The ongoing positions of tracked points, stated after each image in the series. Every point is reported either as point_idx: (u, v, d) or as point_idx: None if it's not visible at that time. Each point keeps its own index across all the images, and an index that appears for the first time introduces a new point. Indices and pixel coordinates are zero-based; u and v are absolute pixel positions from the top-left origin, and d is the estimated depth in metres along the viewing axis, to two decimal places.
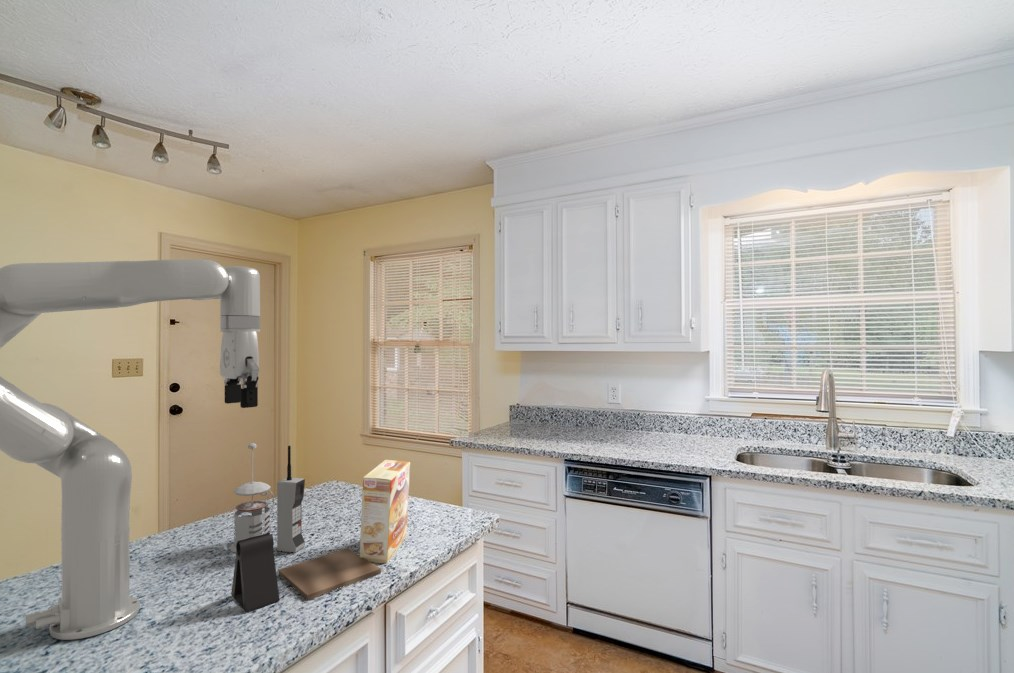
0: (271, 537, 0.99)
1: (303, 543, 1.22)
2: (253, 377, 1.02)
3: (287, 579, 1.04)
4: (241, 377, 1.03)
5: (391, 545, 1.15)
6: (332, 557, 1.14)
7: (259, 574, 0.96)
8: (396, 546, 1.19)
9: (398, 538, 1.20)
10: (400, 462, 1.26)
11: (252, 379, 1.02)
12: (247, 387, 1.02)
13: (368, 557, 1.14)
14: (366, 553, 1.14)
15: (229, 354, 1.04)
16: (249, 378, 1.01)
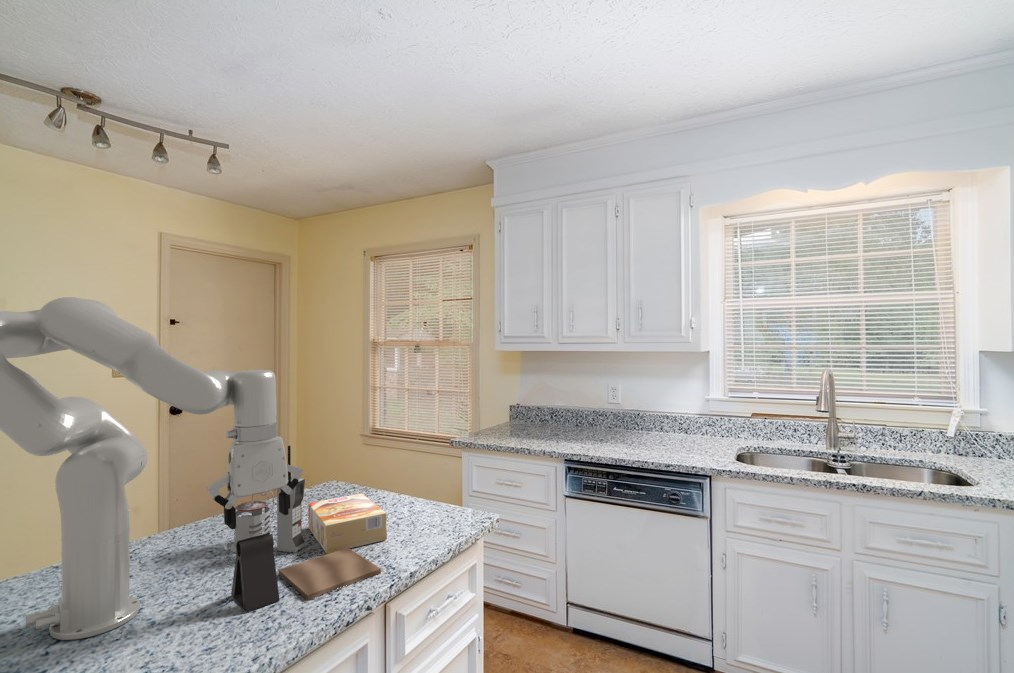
0: (271, 537, 0.99)
1: (303, 543, 1.22)
2: None
3: (287, 579, 1.04)
4: None
5: (330, 519, 1.22)
6: (332, 557, 1.14)
7: (259, 574, 0.96)
8: (349, 518, 1.22)
9: (352, 515, 1.24)
10: None
11: None
12: None
13: (324, 542, 1.19)
14: (323, 543, 1.19)
15: (272, 465, 0.98)
16: (297, 481, 1.03)
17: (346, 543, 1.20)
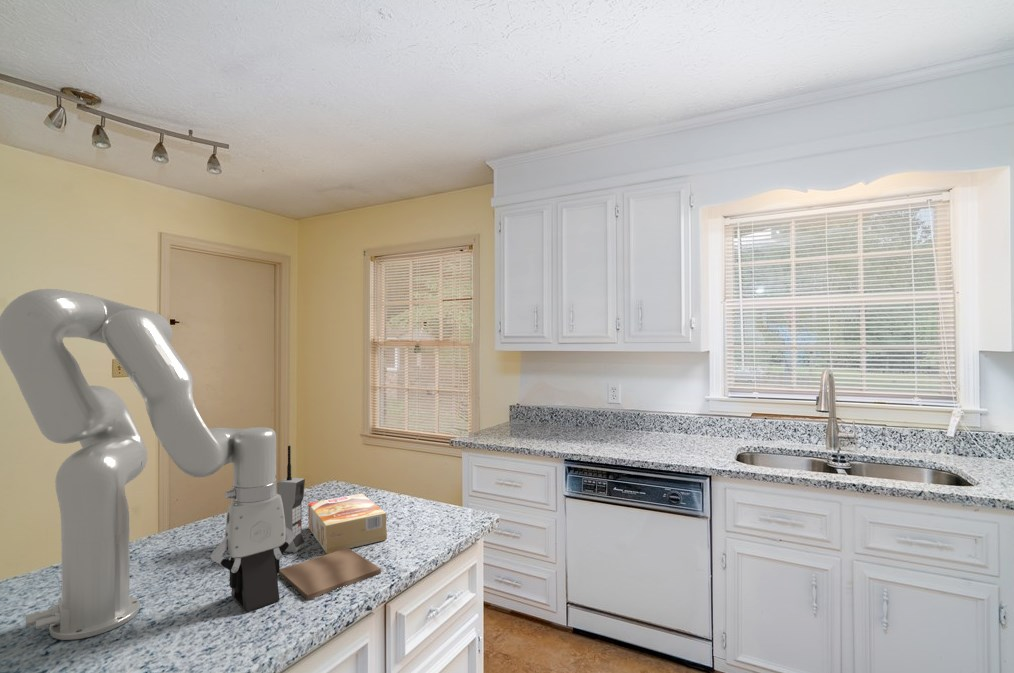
0: None
1: (303, 543, 1.22)
2: None
3: (287, 579, 1.04)
4: (276, 547, 1.00)
5: (330, 519, 1.22)
6: (332, 557, 1.14)
7: (259, 573, 0.96)
8: (349, 518, 1.22)
9: (352, 515, 1.24)
10: None
11: None
12: None
13: (324, 542, 1.19)
14: (323, 543, 1.19)
15: (270, 524, 0.98)
16: (287, 545, 1.02)
17: (346, 543, 1.20)
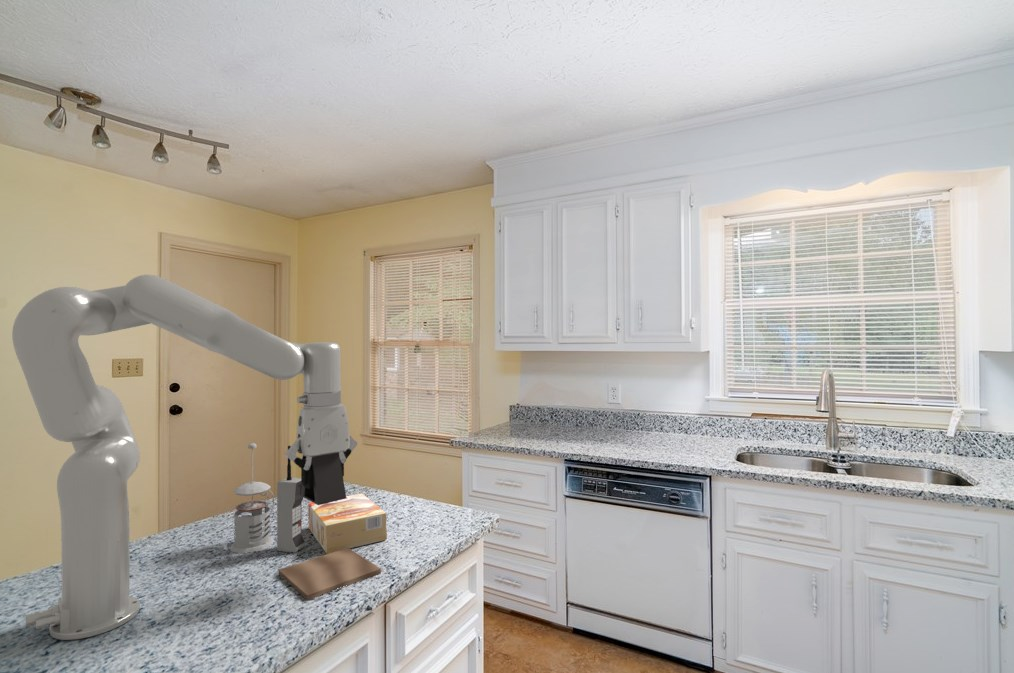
0: None
1: (303, 543, 1.22)
2: None
3: (287, 579, 1.04)
4: (341, 452, 1.09)
5: (330, 519, 1.22)
6: (332, 557, 1.14)
7: (328, 473, 1.05)
8: (349, 518, 1.22)
9: (352, 515, 1.24)
10: None
11: None
12: None
13: (324, 542, 1.19)
14: (323, 543, 1.19)
15: (337, 429, 1.07)
16: (350, 451, 1.11)
17: (346, 543, 1.20)
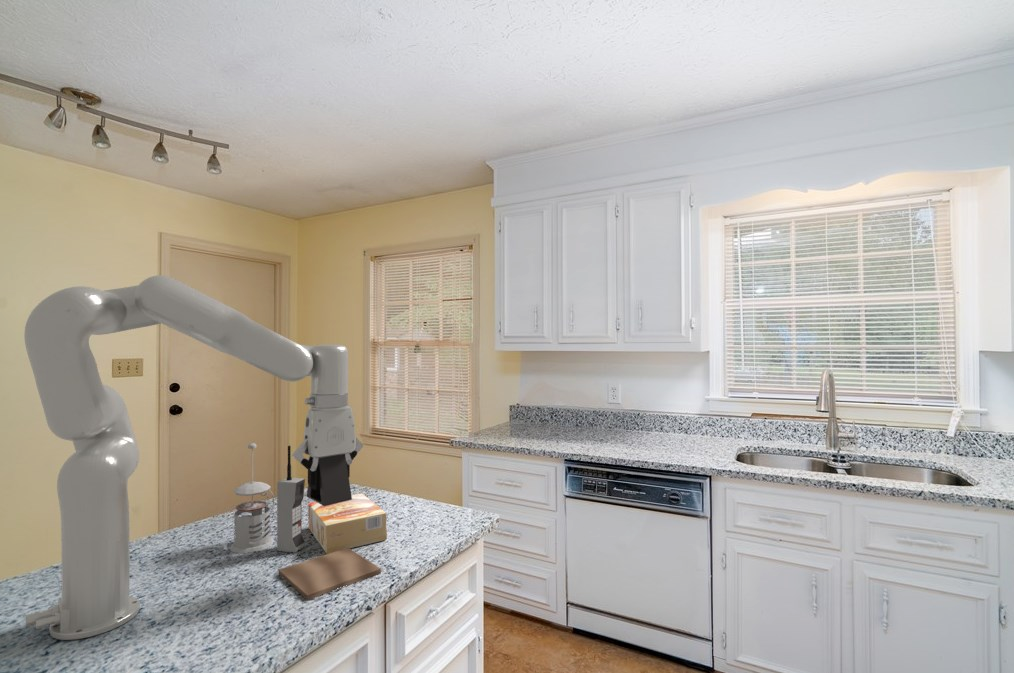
0: None
1: (303, 543, 1.22)
2: None
3: (287, 579, 1.04)
4: (347, 453, 1.10)
5: (330, 519, 1.22)
6: (332, 557, 1.14)
7: (334, 474, 1.06)
8: (349, 518, 1.22)
9: (352, 515, 1.24)
10: None
11: None
12: None
13: (324, 542, 1.19)
14: (323, 543, 1.19)
15: (344, 430, 1.08)
16: (356, 453, 1.12)
17: (346, 543, 1.20)
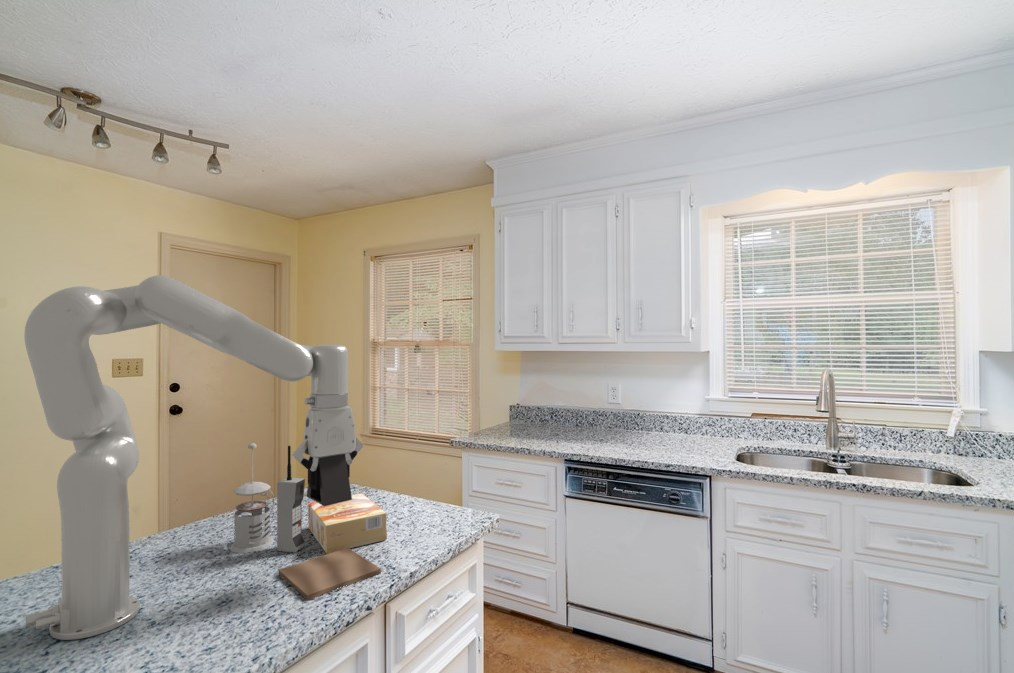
0: None
1: (303, 543, 1.22)
2: None
3: (287, 579, 1.04)
4: (347, 453, 1.10)
5: (330, 519, 1.22)
6: (332, 557, 1.14)
7: (334, 474, 1.06)
8: (349, 518, 1.22)
9: (352, 515, 1.24)
10: None
11: None
12: None
13: (324, 542, 1.19)
14: (323, 543, 1.19)
15: (344, 430, 1.08)
16: (356, 453, 1.12)
17: (346, 543, 1.20)
